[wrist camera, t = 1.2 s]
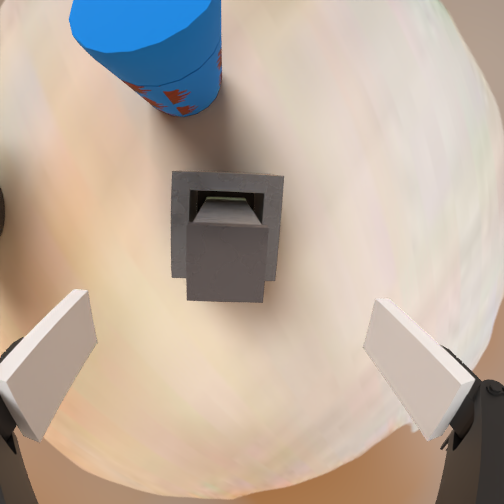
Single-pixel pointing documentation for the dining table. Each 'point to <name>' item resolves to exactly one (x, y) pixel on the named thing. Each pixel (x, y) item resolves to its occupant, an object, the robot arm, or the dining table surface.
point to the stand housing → (191, 181)
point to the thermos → (156, 48)
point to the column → (226, 252)
